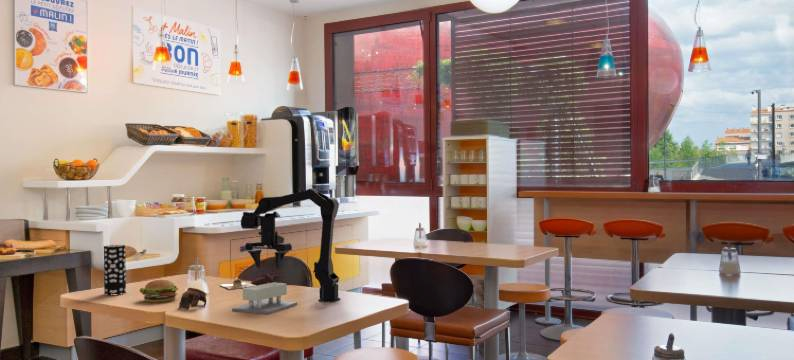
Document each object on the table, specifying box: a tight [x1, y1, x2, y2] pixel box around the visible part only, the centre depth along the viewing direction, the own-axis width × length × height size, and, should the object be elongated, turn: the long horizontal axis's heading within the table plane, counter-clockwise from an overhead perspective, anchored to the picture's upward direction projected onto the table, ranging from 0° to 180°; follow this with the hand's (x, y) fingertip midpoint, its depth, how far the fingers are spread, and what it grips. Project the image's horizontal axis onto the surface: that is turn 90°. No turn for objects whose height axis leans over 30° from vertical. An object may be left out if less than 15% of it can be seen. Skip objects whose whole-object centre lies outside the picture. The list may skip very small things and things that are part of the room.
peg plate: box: [231, 296, 298, 315], centre depth 246 cm, size 16×18×4 cm
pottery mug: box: [178, 287, 207, 310], centre depth 248 cm, size 12×10×8 cm
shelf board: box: [242, 281, 288, 302], centre depth 246 cm, size 6×16×4 cm, turn 147°
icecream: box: [250, 273, 281, 286], centre depth 285 cm, size 7×7×15 cm
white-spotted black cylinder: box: [103, 244, 127, 296], centre depth 279 cm, size 8×8×20 cm
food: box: [139, 279, 179, 303], centre depth 264 cm, size 14×14×8 cm
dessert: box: [220, 276, 255, 290], centre depth 294 cm, size 12×12×5 cm
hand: (268, 268), depth 263 cm, fingers open, 9 cm apart
